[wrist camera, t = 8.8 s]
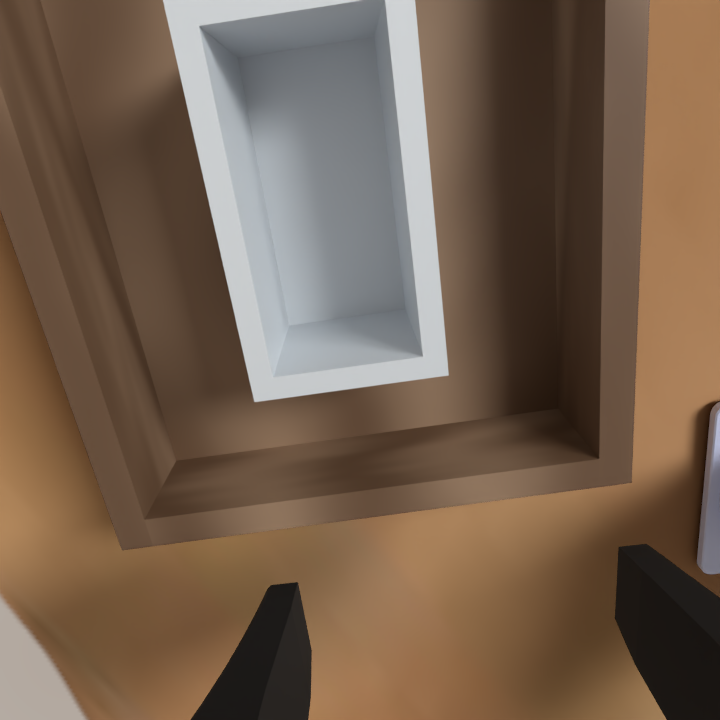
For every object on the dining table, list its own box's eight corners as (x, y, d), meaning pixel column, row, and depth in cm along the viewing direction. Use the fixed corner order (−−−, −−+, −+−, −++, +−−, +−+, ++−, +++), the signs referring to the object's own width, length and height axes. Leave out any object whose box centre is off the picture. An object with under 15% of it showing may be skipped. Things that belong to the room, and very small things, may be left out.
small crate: (391, 12, 16) (410, -43, 11) (423, 318, 19) (448, 375, 14) (216, 40, 16) (162, -4, 11) (276, 339, 19) (254, 402, 14)
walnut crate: (572, -276, 14) (666, -450, 10) (575, 416, 22) (631, 482, 17) (-34, -175, 15) (-183, -301, 11) (164, 472, 22) (121, 550, 18)
